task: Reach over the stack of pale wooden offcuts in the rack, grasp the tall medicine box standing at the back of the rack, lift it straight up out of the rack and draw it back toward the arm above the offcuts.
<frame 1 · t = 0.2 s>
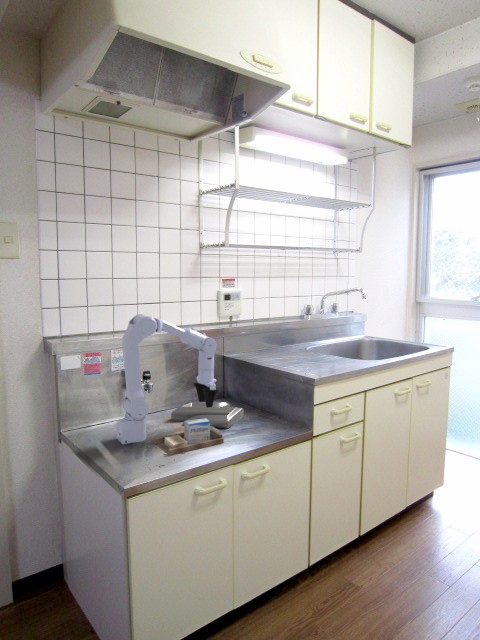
hand: (205, 404, 162), 10 cm above the countertop, tool pointing down, fingers open, 7 cm apart
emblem: (208, 420, 176), on the countertop
medicine box: (196, 445, 148), on the countertop
rack: (189, 446, 147), on the countertop
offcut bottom: (175, 451, 144), on the countertop, touching offcut top
offcut top: (175, 445, 144), point 1 cm above the countertop, touching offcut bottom
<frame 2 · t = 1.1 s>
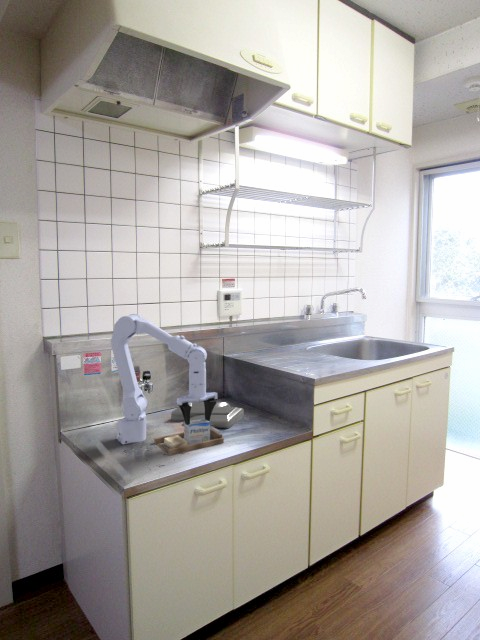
hand: (197, 422, 148), 8 cm above the countertop, tool pointing down, fingers closed on medicine box, 7 cm apart
medicine box: (196, 446, 148), on the countertop, touching gripper
everything else where it was.
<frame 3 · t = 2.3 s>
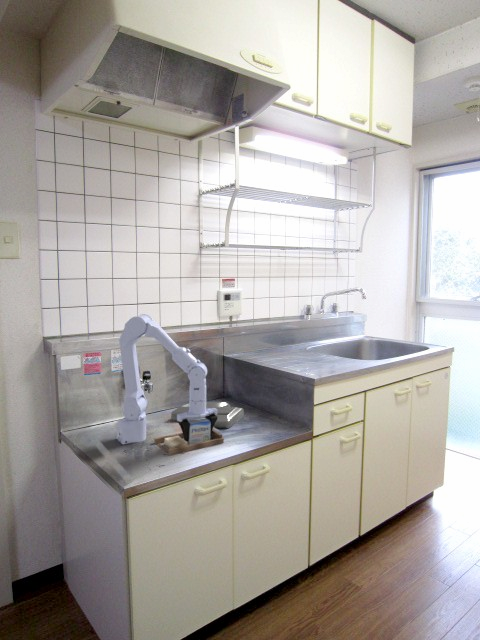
hand: (197, 438, 148), 3 cm above the countertop, tool pointing down, fingers closed on medicine box, 7 cm apart
medicine box: (197, 445, 148), on the countertop, touching gripper
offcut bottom: (175, 451, 144), on the countertop
offcut top: (175, 446, 143), point 1 cm above the countertop
everything else where it was.
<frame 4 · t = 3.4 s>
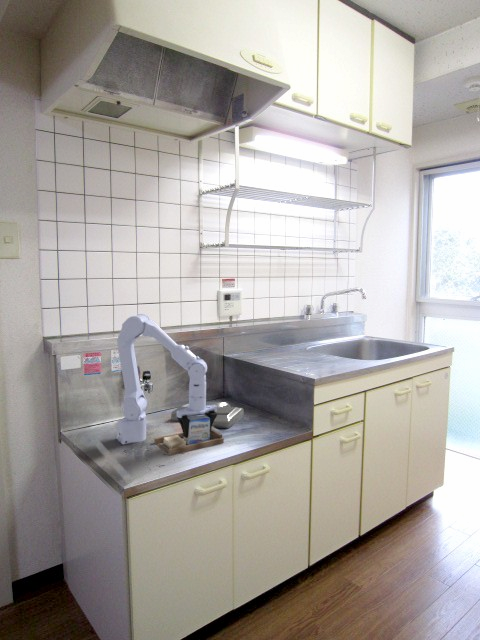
hand: (196, 434, 148), 4 cm above the countertop, tool pointing down, fingers closed on medicine box, 7 cm apart
medicine box: (196, 442, 148), point 1 cm above the countertop, touching gripper
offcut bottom: (175, 451, 144), on the countertop, touching offcut top
offcut top: (174, 445, 144), point 2 cm above the countertop, touching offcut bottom
everything else where it was.
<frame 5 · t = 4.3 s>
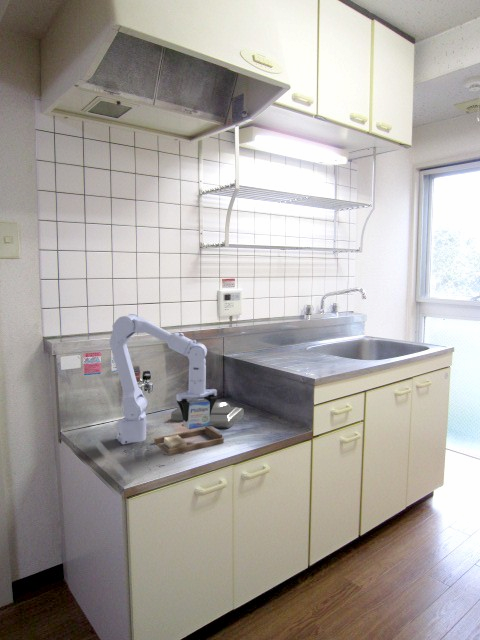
hand: (196, 418, 147), 9 cm above the countertop, tool pointing down, fingers closed on medicine box, 7 cm apart
medicine box: (196, 426, 148), point 7 cm above the countertop, touching gripper
everything else where it was.
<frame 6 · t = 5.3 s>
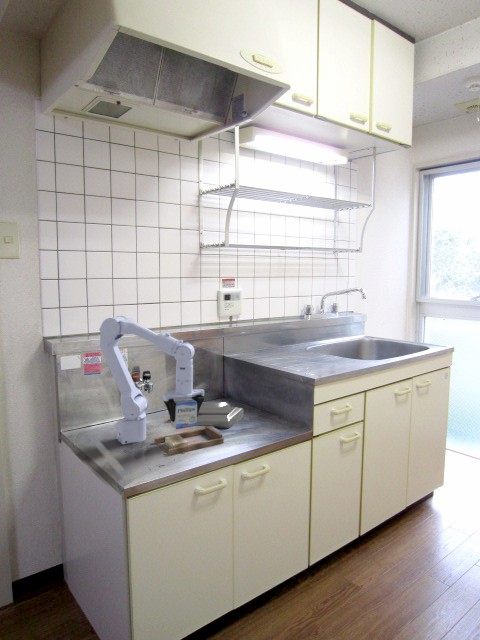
hand: (183, 418, 147), 9 cm above the countertop, tool pointing down, fingers closed on medicine box, 7 cm apart
medicine box: (183, 426, 147), point 7 cm above the countertop, touching gripper
everything else where it was.
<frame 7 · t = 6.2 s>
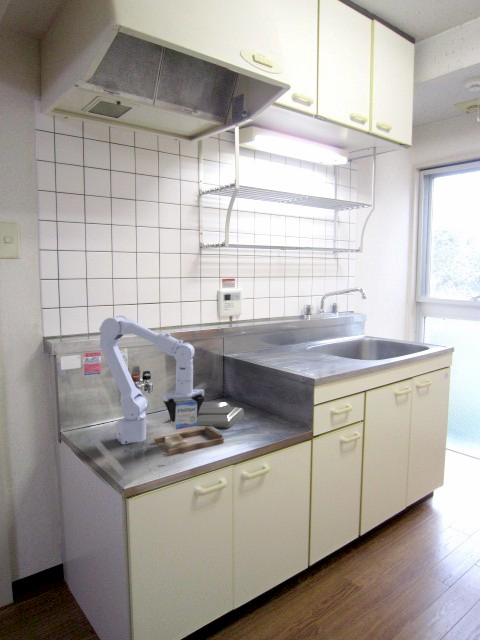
hand: (183, 418, 147), 9 cm above the countertop, tool pointing down, fingers closed on medicine box, 7 cm apart
medicine box: (183, 426, 147), point 7 cm above the countertop, touching gripper
everything else where it was.
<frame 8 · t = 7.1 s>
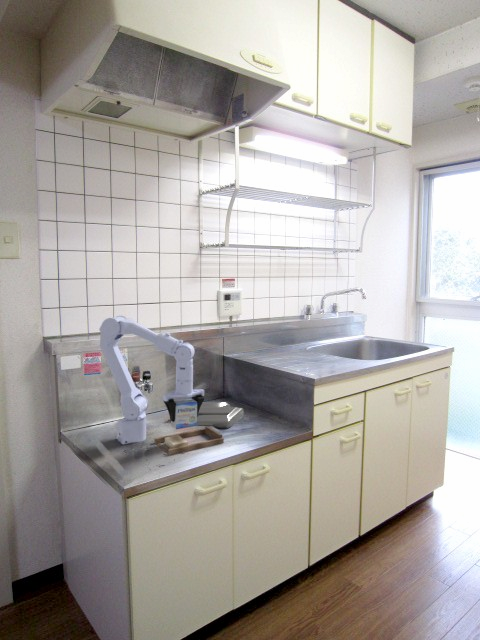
hand: (183, 418, 147), 9 cm above the countertop, tool pointing down, fingers closed on medicine box, 7 cm apart
medicine box: (183, 426, 147), point 7 cm above the countertop, touching gripper
everything else where it was.
at the end: the gripper is holding medicine box; medicine box point 6.6 cm above the countertop; offcut top moved 0.6 cm from its start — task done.
